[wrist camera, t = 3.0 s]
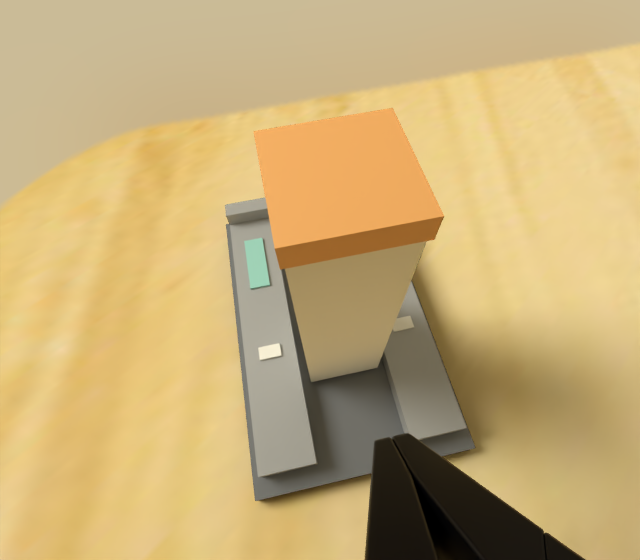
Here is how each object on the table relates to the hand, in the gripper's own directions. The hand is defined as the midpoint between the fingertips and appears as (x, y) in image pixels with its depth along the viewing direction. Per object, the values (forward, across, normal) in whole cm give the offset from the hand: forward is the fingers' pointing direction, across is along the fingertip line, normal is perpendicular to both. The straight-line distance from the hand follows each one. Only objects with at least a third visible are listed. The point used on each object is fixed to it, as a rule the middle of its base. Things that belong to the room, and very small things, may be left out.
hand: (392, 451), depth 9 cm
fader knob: (+10, 0, +2) cm, 10 cm away
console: (+11, 0, +1) cm, 11 cm away
